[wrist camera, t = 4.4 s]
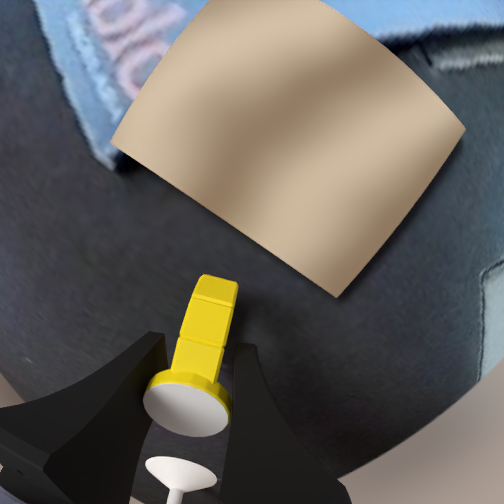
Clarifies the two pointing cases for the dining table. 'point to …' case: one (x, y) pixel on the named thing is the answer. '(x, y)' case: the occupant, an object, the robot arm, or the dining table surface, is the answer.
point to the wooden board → (292, 131)
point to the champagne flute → (180, 476)
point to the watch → (196, 365)
